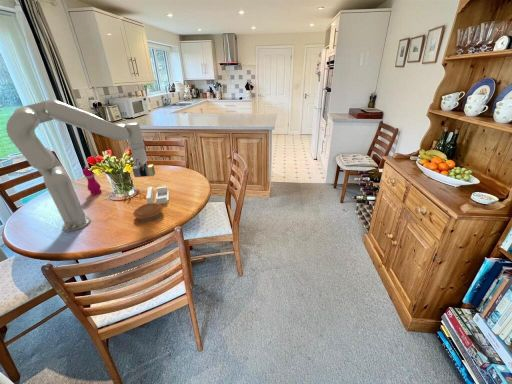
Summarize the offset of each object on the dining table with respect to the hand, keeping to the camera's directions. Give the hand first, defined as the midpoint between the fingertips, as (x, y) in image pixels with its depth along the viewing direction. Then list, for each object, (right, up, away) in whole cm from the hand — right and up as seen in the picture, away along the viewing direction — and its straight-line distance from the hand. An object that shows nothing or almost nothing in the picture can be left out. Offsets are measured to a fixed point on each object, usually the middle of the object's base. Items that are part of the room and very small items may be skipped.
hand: (144, 174), depth 143 cm
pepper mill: (-42, -12, +18) cm, 47 cm away
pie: (+7, -24, -9) cm, 27 cm away
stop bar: (0, -1, 0) cm, 1 cm away
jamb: (+5, -15, +9) cm, 18 cm away
